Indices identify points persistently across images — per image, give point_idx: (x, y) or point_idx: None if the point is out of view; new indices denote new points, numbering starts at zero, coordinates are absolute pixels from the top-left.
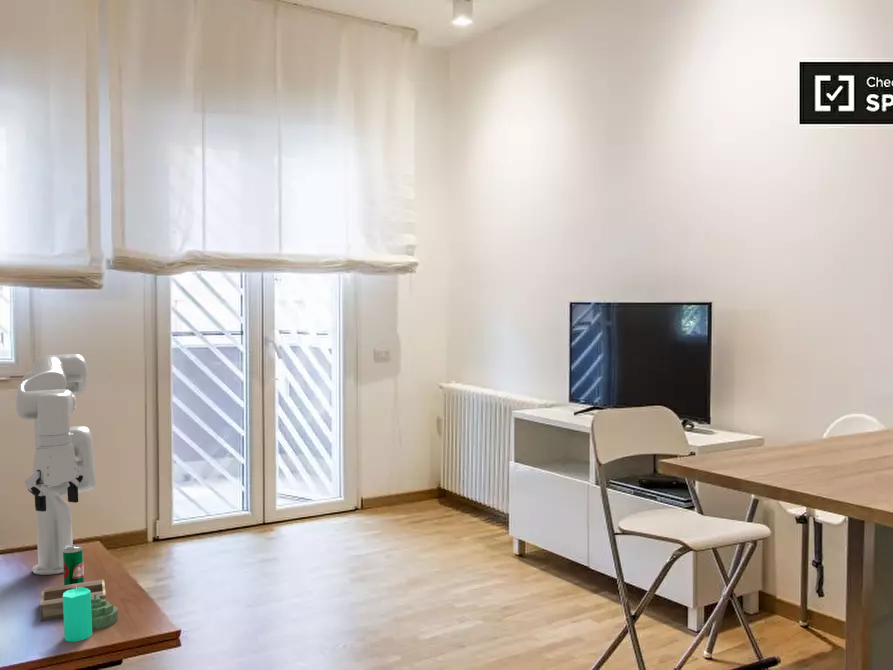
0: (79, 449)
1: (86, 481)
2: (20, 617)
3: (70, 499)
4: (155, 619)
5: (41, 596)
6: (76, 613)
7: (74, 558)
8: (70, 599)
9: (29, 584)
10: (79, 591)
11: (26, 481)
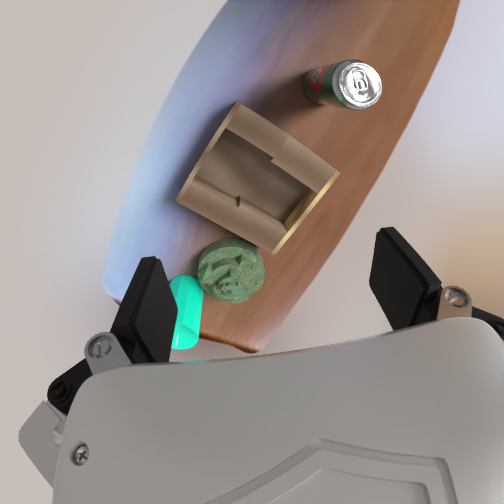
0: None
1: None
2: (170, 136)
3: (379, 258)
4: (278, 317)
5: (204, 151)
6: None
7: (339, 105)
8: None
9: None
10: (186, 329)
11: (30, 446)
